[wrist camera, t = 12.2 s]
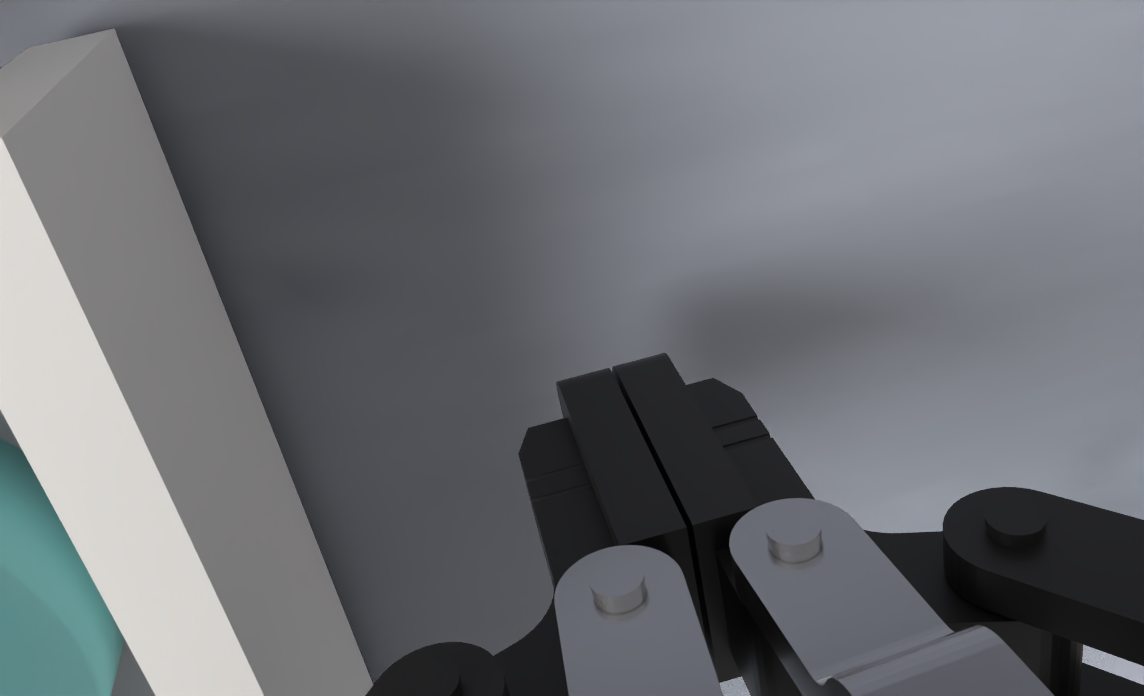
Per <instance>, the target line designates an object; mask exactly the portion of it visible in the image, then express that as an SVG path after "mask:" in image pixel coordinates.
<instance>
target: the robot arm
mask: <svg viewBox="0 0 1144 696" xmlns="http://www.w3.org/2000/svg"><path fill="white" fill-rule="evenodd" d="M556 385H557V391H558V396H559V401H560V405H561V409H562V414H563V418H564V419H560V420H556V421H552V422H549V423H545V424H541V425H538V426H534V427H530V428H528V430H527V432H526V435H525V438H524V441H523V443H522V446H521V449H520V451H519V458H520V461H521V465H522V469H523V473H524V477H525V481H526V485H527V489H528V492H529V496H530V500H531V504H532V508H533V512H534V516H535V520H536V523H537V527H538V531H539V535H540V539H541V543H542V546H543V550H544V554H545V557H546V561H547V565H548V568H549V572H550V575H551V579H552V583H553V586H554V595H553V599H552V603H551V605H550V607H549V609H548V611H547V613H546V615H545V616H544V618H543V619H542V620H541V622H540V623H539V624H538V625H537V626H536V627H535V628H534V629H533V630H532V631H531V632H530V633H529V634H527V635H526V636H525V637H524V638H522V639H521V640H519V641H518V642H516V643H515V644H513V645H511V646H510V647H508V648H506V649H505V650H503V651H501V652H499V653H498V654H496V655H494V656H492V655H491V654H490V653H489V652H488V651H486V650H484V649H483V648H481V647H478V646H475V645H472V644H468V643H462V642H446V643H438V644H434V645H430V646H426V647H423V648H421V649H418V650H415V651H413V652H412V653H410V654H408V655H406V656H404V657H403V658H401V659H400V660H398V661H397V662H395V663H394V664H393V665H392V666H390V667H389V668H388V669H387V670H386V671H385V672H384V673H383V674H382V675H381V676H380V677H379V679H378V680H377V681H376V682H375V684H374V685H373V686H372V688H371V689H370V690H369V691H368V693H367V694H366V695H365V696H723V694H722V691H721V688H720V685H719V683H720V682H724V681H727V680H730V679H734V678H737V677H741V676H742V677H743V680H744V682H745V684H746V686H747V688H748V690H749V693H750V695H751V696H1144V685H1142V684H1139V683H1136V682H1134V681H1131V680H1128V679H1126V678H1123V677H1120V676H1117V675H1115V674H1112V673H1109V672H1106V671H1104V670H1101V669H1098V668H1096V667H1093V666H1090V665H1087V664H1085V663H1082V655H1083V644H1084V645H1086V646H1089V647H1092V648H1095V649H1098V650H1100V651H1103V652H1106V653H1109V654H1112V655H1114V656H1117V657H1120V658H1123V659H1126V660H1128V661H1131V662H1134V663H1137V664H1140V665H1142V666H1144V520H1141V519H1138V518H1134V517H1131V516H1127V515H1123V514H1120V513H1116V512H1112V511H1109V510H1105V509H1102V508H1098V507H1094V506H1091V505H1087V504H1084V503H1080V502H1076V501H1073V500H1069V499H1065V498H1062V497H1058V496H1055V495H1051V494H1047V493H1044V492H1040V491H1036V490H1031V489H1025V488H1017V487H1000V488H990V489H985V490H980V491H977V492H974V493H971V494H969V495H967V496H965V497H963V498H961V499H960V500H958V501H957V502H956V503H954V504H953V505H952V506H951V507H950V509H949V510H948V511H947V513H946V515H945V517H944V521H943V531H940V532H918V533H879V532H871V531H866V530H863V529H862V528H861V527H860V526H859V525H858V523H857V522H856V521H855V520H854V519H853V518H852V517H851V516H850V515H849V514H848V513H846V512H845V511H843V510H842V509H840V508H839V507H836V506H834V505H832V504H830V503H826V502H823V501H819V500H815V499H814V497H813V496H812V494H811V493H810V491H809V490H808V489H807V487H806V486H805V484H804V483H803V481H802V480H801V478H800V477H799V475H798V474H797V473H796V471H795V470H794V468H793V467H792V465H791V464H790V462H789V461H788V460H787V458H786V457H785V455H784V454H783V452H782V451H781V449H780V448H779V446H778V445H777V444H776V442H775V441H774V439H773V438H770V434H769V432H768V431H767V429H766V428H765V426H764V425H763V423H762V422H761V420H758V418H757V415H756V413H755V412H754V410H753V409H752V407H751V406H750V404H749V403H748V402H747V400H746V399H745V397H744V396H743V394H742V393H740V392H739V391H737V390H735V389H733V388H731V387H729V386H727V385H726V384H724V383H722V382H720V381H718V380H716V379H714V378H711V379H708V380H704V381H700V382H697V383H693V384H689V385H685V383H684V382H683V380H682V378H681V377H680V375H679V373H678V372H677V370H676V368H675V367H674V365H673V363H672V362H671V360H670V358H669V357H668V355H667V354H666V353H662V354H659V355H655V356H651V357H647V358H644V359H640V360H636V361H632V362H628V363H625V364H621V365H617V366H613V367H612V372H611V370H610V369H609V368H607V369H603V370H599V371H595V372H592V373H588V374H584V375H580V376H577V377H573V378H569V379H565V380H562V381H558V382H556Z"/></svg>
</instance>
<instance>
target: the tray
mask: <svg viewBox="0 0 1144 696" xmlns="http://www.w3.org/2000/svg"><path fill="white" fill-rule="evenodd" d="M0 438H1V439H3V440H5V441H7V442H8V443H10V444H12V445H14V446H16V447H17V448H19V449H21V450H23V452H24V454H25V456H26V458H27V460H28V462H29V463H30V465H31V467H32V469H33V471H34V473H35V474H36V476H37V478H38V480H39V482H40V484H41V486H42V487H43V489H44V491H45V493H46V495H47V497H48V498H49V500H50V502H51V504H52V506H53V508H54V509H55V511H56V513H57V515H58V517H59V519H60V521H61V522H62V524H63V526H64V528H65V530H66V532H67V533H68V535H69V537H70V539H71V541H72V543H73V544H74V546H75V548H76V550H77V552H78V554H79V556H80V557H81V559H82V561H83V563H84V565H85V567H86V568H87V570H88V572H89V574H90V576H91V578H92V580H93V581H94V583H95V585H96V587H97V589H98V591H99V592H100V594H101V596H102V598H103V600H104V602H105V603H106V605H107V607H108V609H109V611H110V613H111V615H112V616H113V618H114V620H115V622H116V624H117V626H118V627H119V629H120V631H121V633H122V635H123V637H124V639H125V641H124V645H123V649H122V653H121V657H120V661H119V665H118V669H117V673H116V677H115V681H114V685H113V689H112V693H111V696H365V695H366V694H367V693H368V691H369V690H370V689H371V688H372V686H373V683H372V681H371V678H370V676H369V673H368V671H367V668H366V665H365V663H364V660H363V658H362V655H361V653H360V650H359V648H358V645H357V643H356V640H355V638H354V635H353V632H352V630H351V627H350V625H349V622H348V620H347V617H346V615H345V612H344V610H343V607H342V605H341V602H340V600H339V597H338V594H337V592H336V589H335V587H334V584H333V582H332V579H331V577H330V574H329V572H328V569H327V567H326V564H325V562H324V559H323V556H322V554H321V551H320V549H319V546H318V544H317V541H316V539H315V536H314V534H313V531H312V529H311V526H310V524H309V521H308V518H307V516H306V513H305V511H304V508H303V506H302V503H301V501H300V498H299V496H298V493H297V491H296V488H295V485H294V483H293V480H292V478H291V475H290V473H289V470H288V468H287V465H286V463H285V460H284V458H283V455H282V453H281V450H280V447H279V445H278V442H277V440H276V437H275V435H274V432H273V430H272V427H271V425H270V422H269V420H268V417H267V415H266V412H265V409H264V407H263V404H262V402H261V399H260V397H259V394H258V392H257V389H256V387H255V384H254V382H253V379H252V377H251V374H250V371H249V369H248V366H247V364H246V361H245V359H244V356H243V354H242V351H241V349H240V346H239V344H238V341H237V338H236V336H235V333H234V331H233V328H232V326H231V323H230V321H229V318H228V316H227V313H226V311H225V308H224V306H223V303H222V300H221V298H220V295H219V293H218V290H217V288H216V285H215V283H214V280H213V278H212V275H211V273H210V270H209V268H208V265H207V262H206V260H205V257H204V255H203V252H202V250H201V247H200V245H199V242H198V240H197V237H196V235H195V232H194V230H193V227H192V224H191V222H190V219H189V217H188V214H187V212H186V209H185V207H184V204H183V202H182V199H181V197H180V194H179V191H178V189H177V186H176V184H175V181H174V179H173V176H172V174H171V171H170V169H169V166H168V164H167V161H166V159H165V156H164V153H163V151H162V148H161V146H160V143H159V141H158V138H157V136H156V133H155V131H154V128H153V126H152V123H151V121H150V118H149V115H148V113H147V110H146V108H145V105H144V103H143V100H142V98H141V95H140V93H139V90H138V88H137V85H136V83H135V80H134V77H133V75H132V72H131V70H130V67H129V65H128V62H127V60H126V57H125V55H124V52H123V50H122V47H121V44H120V42H119V39H118V37H117V34H116V32H115V29H114V28H113V29H109V30H105V31H100V32H96V33H92V34H87V35H83V36H78V37H74V38H70V39H65V40H61V41H57V42H52V43H48V44H43V45H39V46H35V47H30V48H27V49H25V50H24V51H23V52H21V53H20V54H19V55H18V56H16V57H15V58H14V59H12V60H11V61H10V62H8V63H7V64H6V65H4V66H3V67H2V68H1V69H0Z"/></svg>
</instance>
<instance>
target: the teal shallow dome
mask: <svg viewBox="0 0 1144 696" xmlns="http://www.w3.org/2000/svg"><path fill="white" fill-rule="evenodd" d="M124 641H125V639H124V637H123V635H122V633H121V631H120V629H119V627H118V626H117V624H116V622H115V620H114V618H113V616H112V615H111V613H110V611H109V609H108V607H107V605H106V603H105V602H104V600H103V598H102V596H101V594H100V592H99V591H98V589H97V587H96V585H95V583H94V581H93V580H92V578H91V576H90V574H89V572H88V570H87V568H86V567H85V565H84V563H83V561H82V559H81V557H80V556H79V554H78V552H77V550H76V548H75V546H74V544H73V543H72V541H71V539H70V537H69V535H68V533H67V532H66V530H65V528H64V526H63V524H62V522H61V521H60V519H59V517H58V515H57V513H56V511H55V509H54V508H53V506H52V504H51V502H50V500H49V498H48V497H47V495H46V493H45V491H44V489H43V487H42V486H41V484H40V482H39V480H38V478H37V476H36V474H35V473H34V471H33V469H32V467H31V465H30V463H29V462H28V460H27V458H26V456H25V454H24V452H23V450H21V449H19V448H17V447H16V446H14V445H12V444H10V443H8V442H7V441H5V440H3V439H1V438H0V696H111V693H112V689H113V685H114V681H115V677H116V673H117V669H118V665H119V661H120V657H121V653H122V649H123V645H124Z"/></svg>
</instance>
